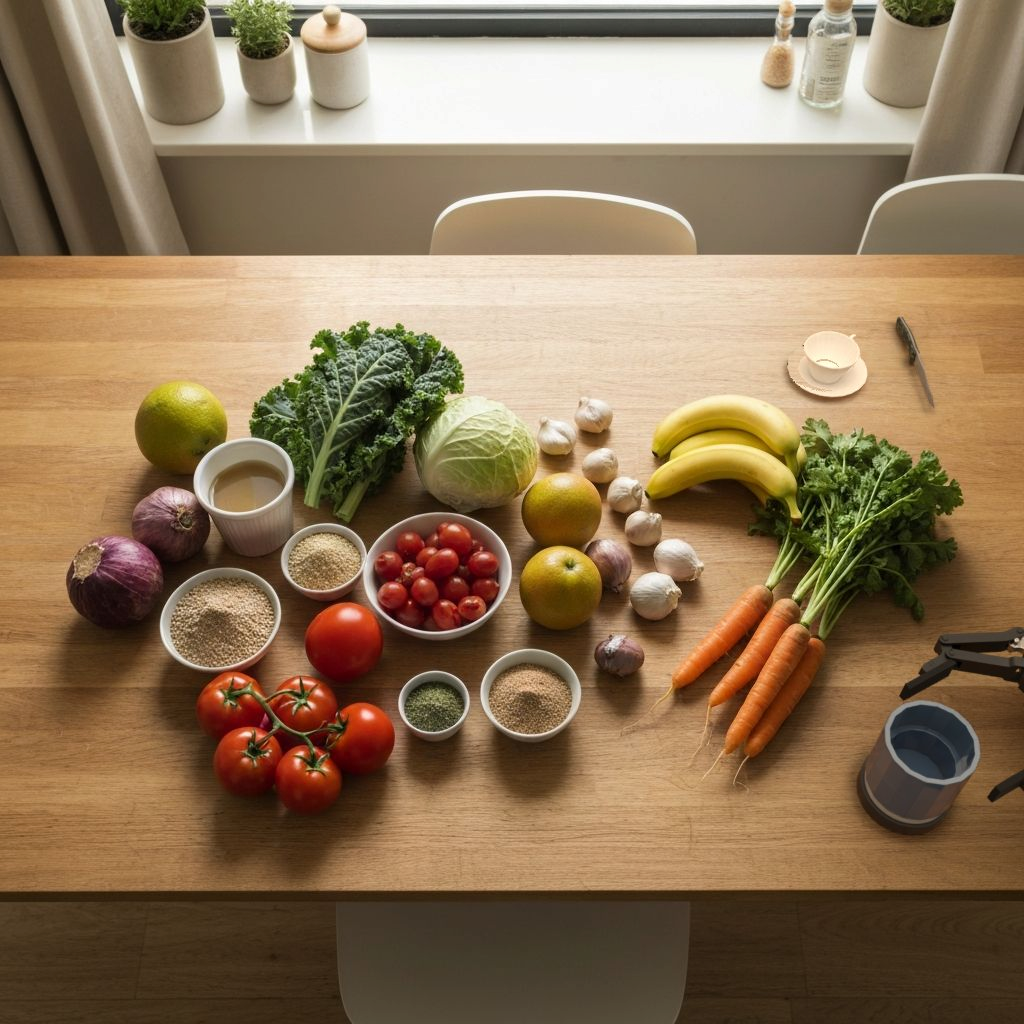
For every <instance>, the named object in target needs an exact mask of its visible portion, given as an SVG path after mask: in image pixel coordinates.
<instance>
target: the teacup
mask: <svg viewBox="0 0 1024 1024" xmlns="http://www.w3.org/2000/svg"><path fill="white" fill-rule="evenodd" d="M856 337H857V335H856V334H855V333H853V334H851V335H850V336H848V335H847V334H844V333H841V332H837V331H829V330H824V331H818V332H816V333H813V334H811V335H810V336H808V337H807V338H806V340H805V342H804V344H803V345H804V351H805V355H806V356H804V357H803V358H802V359H801V360H800V363H799V366H798V370H799V373H800V375H801V377H802V378H803V379H804V380H805V381H806V382H807V383H808V384H810V385H812V386H814V387H817V388H820V389H825V390H832V391H825V390H824V391H825V392H824V391H823V390H822V391H823V392H822V391H818V390H817V391H816V389H815V390H811V389H812V388H809V387H806V386H805V387H806V388H805V387H804V386H803V385H800V384H798V383H796V381H795V380H792V381H793V382H794V381H795V383H794V384H795V385H797V386H798V387H799V386H800V387H799V388H801V389H802V390H804V391H806V392H807V393H810V394H813V395H815V396H816V395H817V396H820V397H825V398H841V397H845V396H849V395H851V394H854V393H856V392H857V391H859V390H860V389H861V388H862V387H863V386H864V385H865V384H866V382H867V379H868V368H867V366H866V363H865V360H863V358H861V350H860V346H859V345H858V344H857V342H856V341H855V340H856ZM820 359H828V360H831V361H833V362H835V363H837V365H838V366H839V367H838V366H837V365H836V364H834V363H832V362H829V361H820V362H816V361H817V360H820ZM853 366H854V367H853ZM810 371H811V372H810ZM812 374H813V375H814V376H815V377H816V378H815V377H814V376H813V375H812ZM791 378H792V377H790V379H791ZM817 378H818V379H817ZM819 379H820V380H819ZM822 380H823V381H822ZM835 380H836V381H835ZM826 381H831V382H826Z"/></svg>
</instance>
